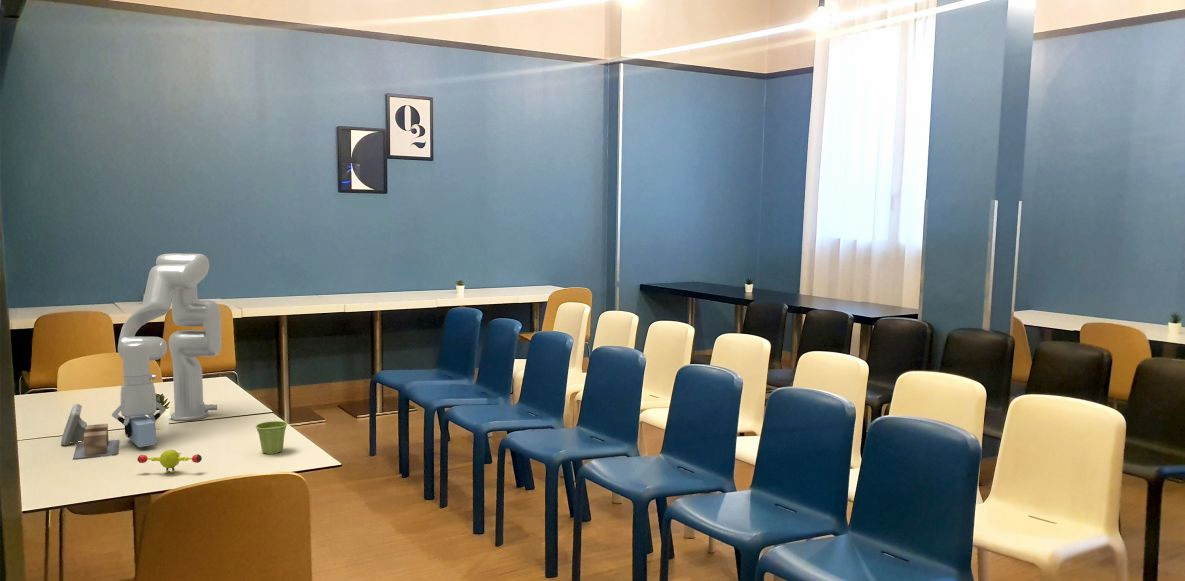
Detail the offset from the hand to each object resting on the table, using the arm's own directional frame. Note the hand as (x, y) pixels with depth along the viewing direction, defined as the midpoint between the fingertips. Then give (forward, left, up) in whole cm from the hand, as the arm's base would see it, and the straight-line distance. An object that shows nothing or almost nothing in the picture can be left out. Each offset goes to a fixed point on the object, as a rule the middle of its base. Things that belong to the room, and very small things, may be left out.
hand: (140, 434), depth 284 cm
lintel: (0, 0, -2) cm, 2 cm away
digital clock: (+20, -16, -4) cm, 26 cm away
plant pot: (-37, +27, -4) cm, 46 cm away
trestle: (+12, +1, -3) cm, 13 cm away
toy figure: (-8, +37, -4) cm, 38 cm away
